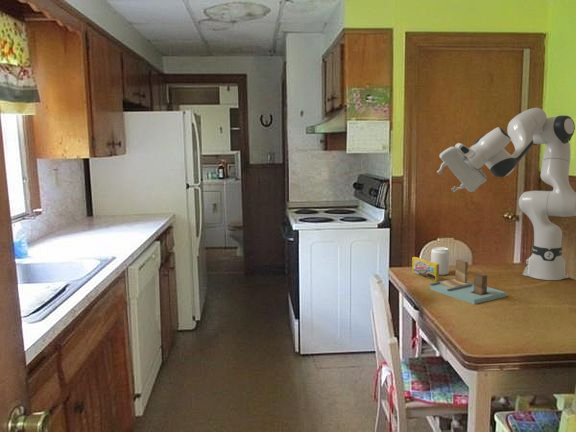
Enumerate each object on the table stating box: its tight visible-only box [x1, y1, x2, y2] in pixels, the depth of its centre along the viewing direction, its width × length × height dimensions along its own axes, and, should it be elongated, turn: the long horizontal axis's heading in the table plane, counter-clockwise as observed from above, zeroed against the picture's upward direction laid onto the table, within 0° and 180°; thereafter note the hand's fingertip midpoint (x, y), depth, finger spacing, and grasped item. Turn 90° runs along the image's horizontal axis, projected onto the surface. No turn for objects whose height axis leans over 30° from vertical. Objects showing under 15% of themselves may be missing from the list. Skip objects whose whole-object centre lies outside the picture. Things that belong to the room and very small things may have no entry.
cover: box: [439, 259, 470, 288], centre depth 212 cm, size 9×8×10 cm
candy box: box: [411, 256, 440, 283], centre depth 233 cm, size 16×2×8 cm, turn 27°
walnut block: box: [473, 272, 488, 295], centre depth 201 cm, size 4×4×9 cm
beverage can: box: [430, 246, 450, 276], centre depth 239 cm, size 8×8×12 cm
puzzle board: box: [429, 278, 507, 305], centre depth 207 cm, size 18×23×3 cm
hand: (445, 182), depth 207 cm, fingers open, 8 cm apart
